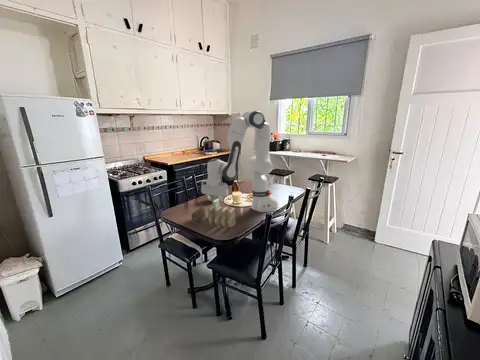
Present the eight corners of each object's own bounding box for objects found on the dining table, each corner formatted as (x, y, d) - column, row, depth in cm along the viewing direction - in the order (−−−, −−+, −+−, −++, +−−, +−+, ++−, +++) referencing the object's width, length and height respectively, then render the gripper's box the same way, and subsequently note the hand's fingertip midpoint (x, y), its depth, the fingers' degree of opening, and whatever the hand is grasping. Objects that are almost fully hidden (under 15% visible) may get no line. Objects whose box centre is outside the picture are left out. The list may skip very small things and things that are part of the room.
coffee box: (221, 199, 199) (220, 181, 195) (218, 202, 193) (217, 183, 189) (212, 198, 202) (210, 180, 198) (208, 201, 196) (207, 182, 192)
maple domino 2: (222, 221, 157) (221, 206, 154) (218, 225, 152) (217, 209, 149) (219, 221, 158) (218, 206, 155) (215, 225, 152) (214, 209, 149)
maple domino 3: (228, 222, 155) (227, 207, 152) (224, 226, 150) (223, 210, 147) (226, 222, 156) (225, 207, 153) (222, 226, 150) (221, 210, 148)
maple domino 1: (216, 220, 159) (215, 205, 156) (211, 224, 153) (210, 209, 150) (213, 220, 159) (212, 205, 157) (209, 224, 154) (208, 208, 151)
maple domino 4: (235, 223, 153) (234, 208, 150) (231, 227, 148) (230, 211, 145) (232, 223, 154) (231, 207, 151) (228, 227, 149) (227, 211, 146)
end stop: (205, 216, 165) (204, 207, 163) (196, 224, 155) (195, 214, 153) (201, 216, 166) (201, 207, 165) (192, 223, 156) (191, 213, 154)
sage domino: (220, 213, 171) (219, 199, 168) (216, 216, 165) (215, 202, 162) (217, 212, 171) (216, 198, 169) (213, 216, 166) (212, 201, 163)
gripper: (229, 182, 161) (230, 200, 164) (204, 179, 168) (205, 197, 172) (225, 184, 155) (226, 203, 159) (199, 181, 163) (200, 200, 166)
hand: (215, 200), depth 165 cm, fingers open, 8 cm apart
